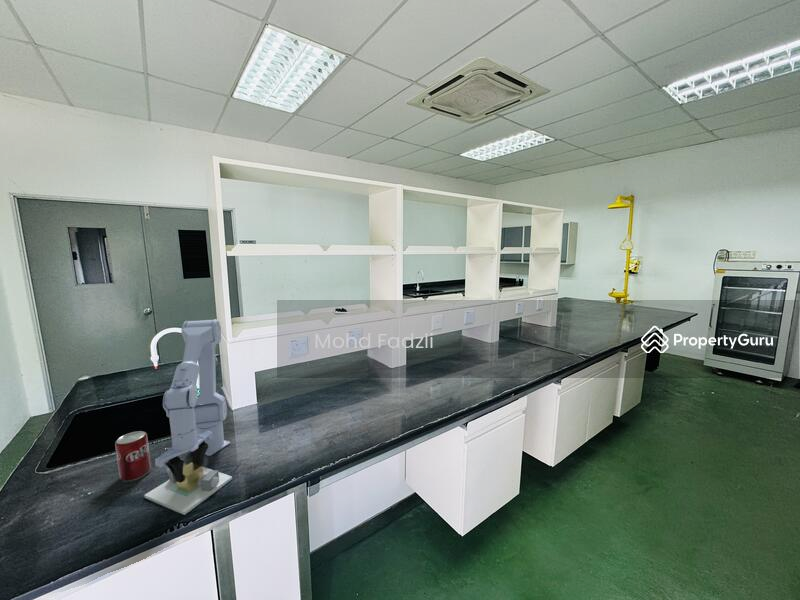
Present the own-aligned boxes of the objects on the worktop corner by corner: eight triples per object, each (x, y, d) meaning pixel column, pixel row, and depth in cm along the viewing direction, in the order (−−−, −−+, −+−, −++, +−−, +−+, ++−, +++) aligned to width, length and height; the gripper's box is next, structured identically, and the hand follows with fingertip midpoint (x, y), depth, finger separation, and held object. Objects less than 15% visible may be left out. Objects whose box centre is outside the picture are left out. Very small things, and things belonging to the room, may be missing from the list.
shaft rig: (144, 497, 86) (142, 484, 85) (194, 466, 99) (193, 454, 98) (184, 515, 80) (182, 500, 79) (232, 479, 93) (231, 466, 92)
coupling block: (177, 488, 88) (175, 471, 87) (193, 478, 92) (191, 462, 91) (188, 492, 86) (186, 475, 85) (203, 482, 90) (202, 465, 89)
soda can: (157, 466, 99) (152, 430, 97) (139, 482, 92) (133, 443, 90) (133, 466, 99) (128, 430, 97) (113, 483, 91) (107, 444, 90)
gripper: (165, 447, 79) (171, 497, 80) (218, 419, 92) (222, 463, 94) (147, 441, 81) (153, 489, 83) (201, 415, 95) (205, 457, 96)
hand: (188, 475), depth 89 cm, fingers closed on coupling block, 4 cm apart
